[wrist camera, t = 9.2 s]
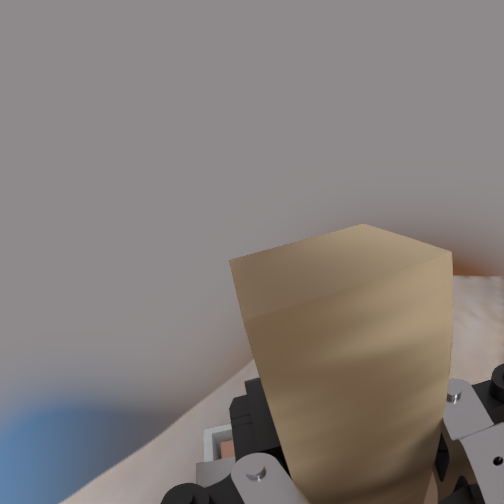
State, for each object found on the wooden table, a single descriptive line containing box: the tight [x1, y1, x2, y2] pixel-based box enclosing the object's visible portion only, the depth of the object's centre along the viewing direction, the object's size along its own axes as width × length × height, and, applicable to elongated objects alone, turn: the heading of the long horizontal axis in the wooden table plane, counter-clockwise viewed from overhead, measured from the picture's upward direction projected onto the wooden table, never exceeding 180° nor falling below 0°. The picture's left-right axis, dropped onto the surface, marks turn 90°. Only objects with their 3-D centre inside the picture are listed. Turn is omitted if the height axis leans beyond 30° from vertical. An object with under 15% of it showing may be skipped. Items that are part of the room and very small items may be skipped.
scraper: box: [196, 224, 453, 504], centre depth 9 cm, size 12×6×12 cm, turn 98°
